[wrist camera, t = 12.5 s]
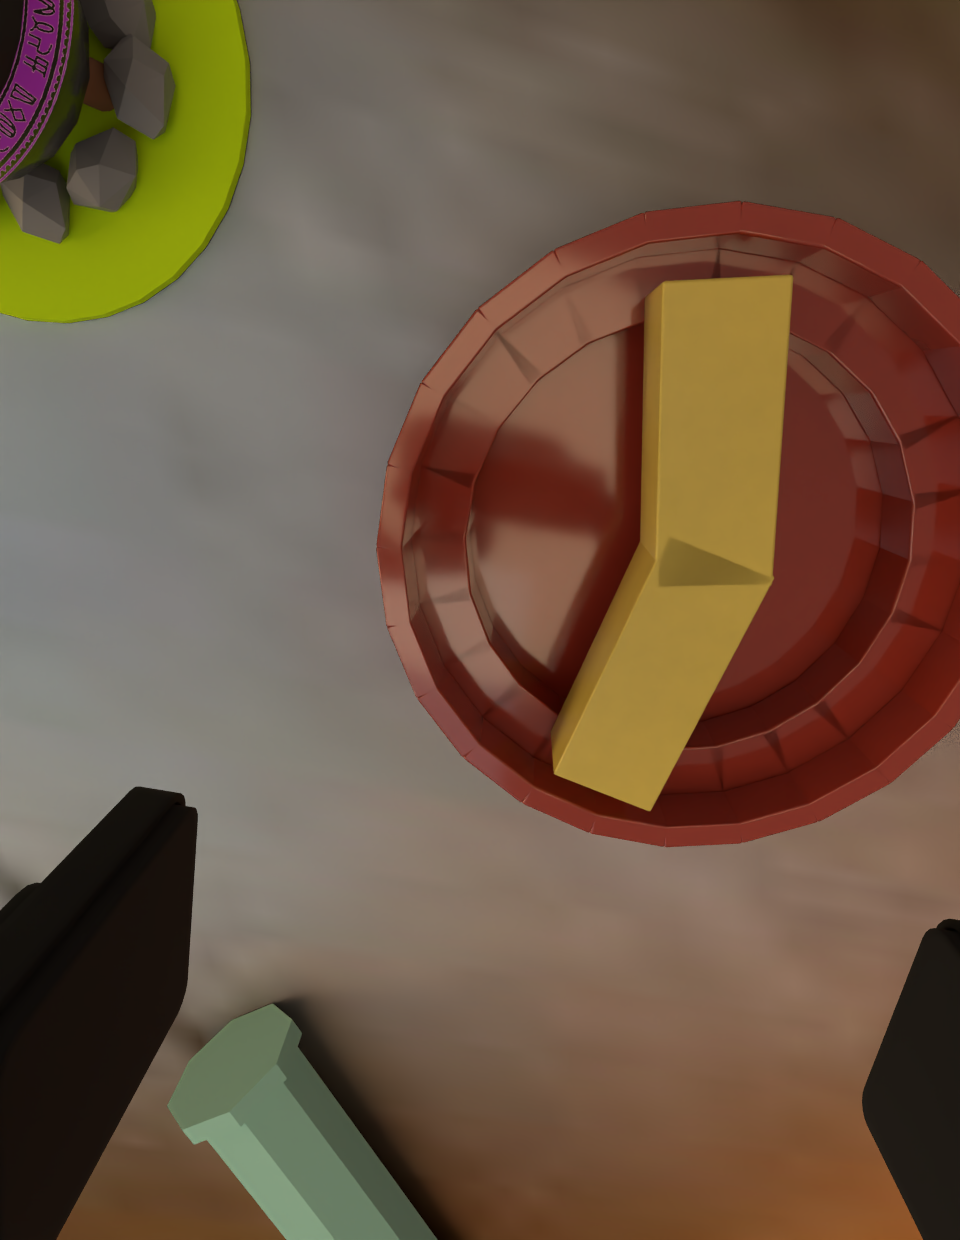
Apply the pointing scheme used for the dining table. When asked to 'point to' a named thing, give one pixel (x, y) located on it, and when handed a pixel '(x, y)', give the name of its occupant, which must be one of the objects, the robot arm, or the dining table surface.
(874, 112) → the dining table surface
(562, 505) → the bowl
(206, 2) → the toy cauldron
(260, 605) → the dining table surface
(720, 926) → the dining table surface
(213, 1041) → the pale green faceted rod
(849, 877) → the dining table surface
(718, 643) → the banana
